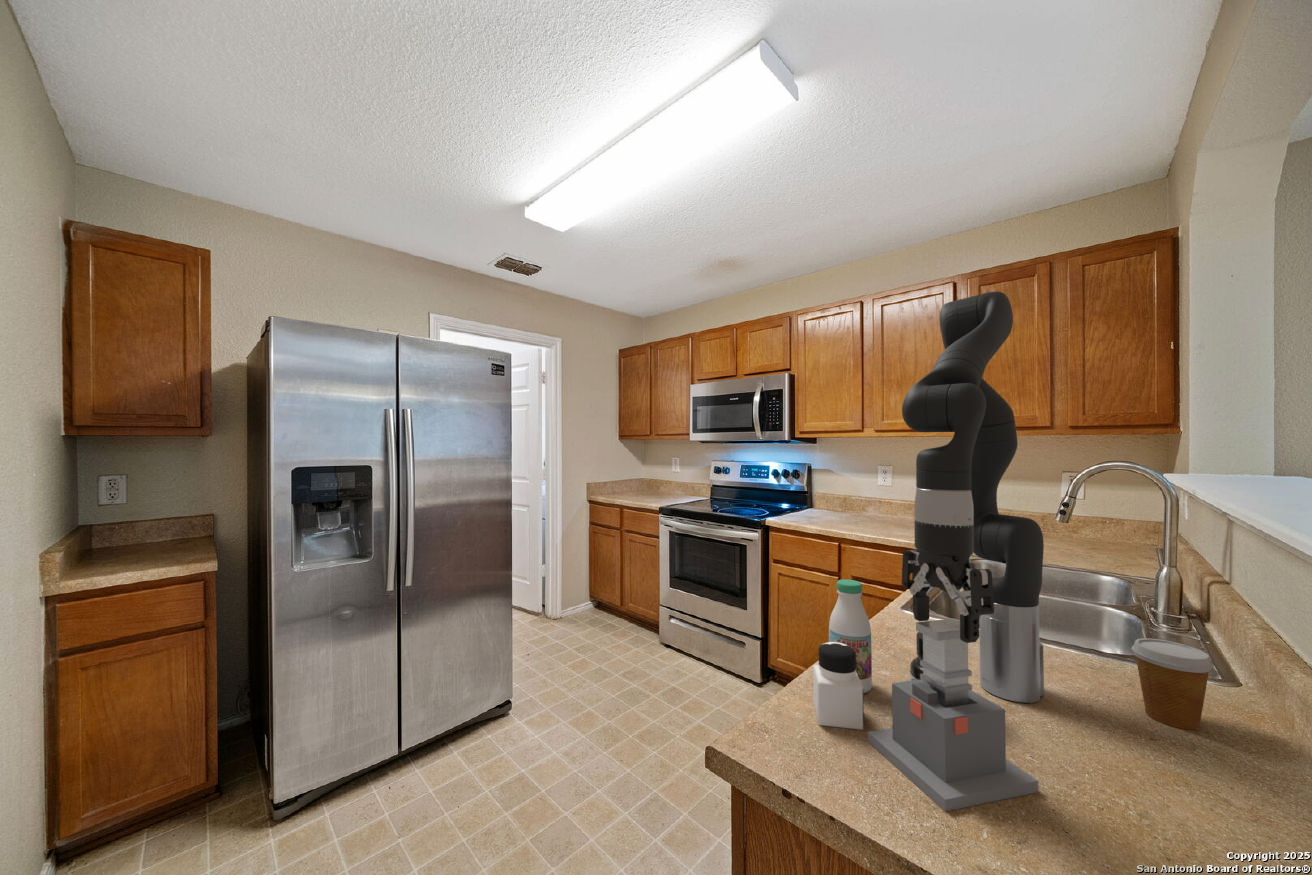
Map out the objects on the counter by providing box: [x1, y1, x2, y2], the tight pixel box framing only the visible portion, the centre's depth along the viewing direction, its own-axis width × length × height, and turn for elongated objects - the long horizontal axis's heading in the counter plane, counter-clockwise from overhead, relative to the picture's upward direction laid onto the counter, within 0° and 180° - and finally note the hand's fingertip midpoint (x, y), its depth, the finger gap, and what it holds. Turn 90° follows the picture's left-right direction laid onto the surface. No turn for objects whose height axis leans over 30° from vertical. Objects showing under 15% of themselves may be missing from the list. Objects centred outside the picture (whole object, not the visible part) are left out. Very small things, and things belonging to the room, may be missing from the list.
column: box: [915, 618, 973, 708], centre depth 71 cm, size 6×5×18 cm
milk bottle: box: [828, 578, 873, 694], centre depth 94 cm, size 8×8×20 cm
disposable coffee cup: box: [1131, 637, 1214, 730], centre depth 82 cm, size 10×10×12 cm
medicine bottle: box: [812, 641, 865, 731], centre depth 83 cm, size 7×7×12 cm
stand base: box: [867, 679, 1039, 812], centre depth 71 cm, size 15×15×12 cm
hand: (943, 630), depth 71 cm, fingers open, 8 cm apart
